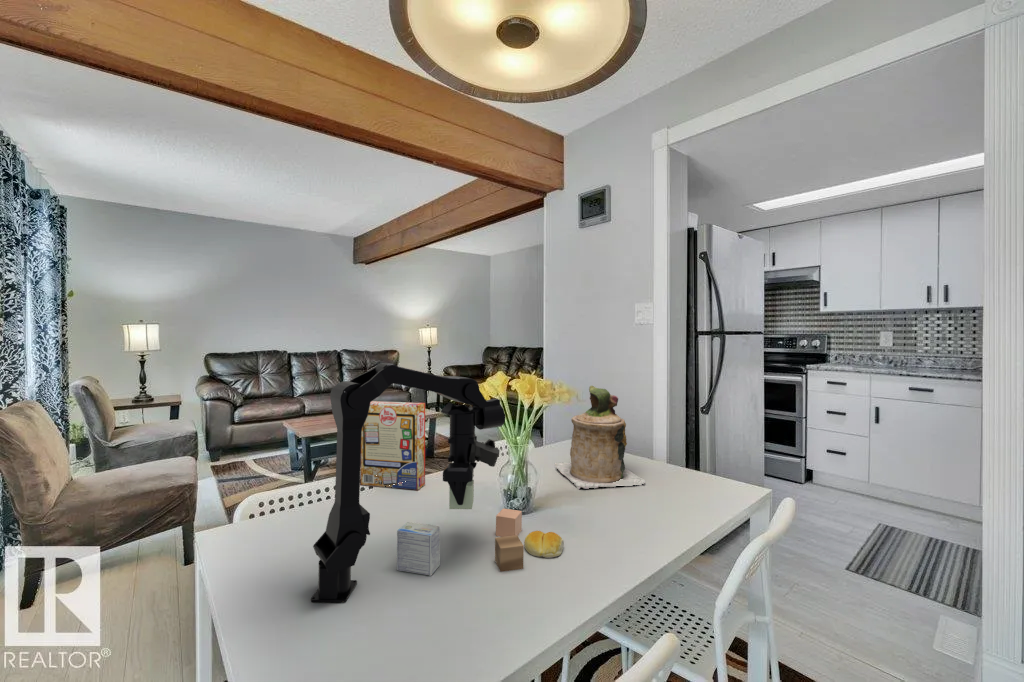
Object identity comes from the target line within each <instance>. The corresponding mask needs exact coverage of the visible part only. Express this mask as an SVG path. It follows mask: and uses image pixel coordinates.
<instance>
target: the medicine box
mask: <svg viewBox="0 0 1024 682" xmlns="http://www.w3.org/2000/svg"><path fill="white" fill-rule="evenodd" d="M440 531H441V530H440V526H439V525H433V524H426V523H418V522H410V521H407V522H406V523H404V524H403V525H402V526H401V527H400V528H399V529H397V531H396V570H397V571H401V572H406V573H407V572H408V573H413V574H417V575H425V576H426V575H427V576H430V577H431V576H432V575H433V574H434V572H435V571H436V570H438V568H439V567H440V564H441V563H440V562H441V560H440V555H441V549H440V548H441V547H440V543H441V542H440V541H441V539H440V535H441V534H440V533H441V532H440Z"/></svg>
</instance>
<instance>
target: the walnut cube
mask: <svg viewBox="0 0 1024 682" xmlns="http://www.w3.org/2000/svg"><path fill="white" fill-rule="evenodd" d="M524 549H525V546H524V543H523V542H522V540H521V539H520V538H519V535H518V536H517V535H515V536H506V537H500V536H496V537H494V562H495V563H496V566H497V568H498V570H499V572H500V573H502V572H509V571H519V570H524V551H525V550H524Z"/></svg>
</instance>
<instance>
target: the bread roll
mask: <svg viewBox="0 0 1024 682" xmlns="http://www.w3.org/2000/svg"><path fill="white" fill-rule="evenodd" d="M564 543H565V541H564V539H562V537H561V536H560V535H559V534H557V533H555V532H554V531H548V532H543V531H541V530H534V531H531V532H529V533H528V535H526V536H525V539H524V543H523V545H524V549H525V551H526V552H527V553H529V555H532V556H533V557H539V558H541V557H543V558H545V559H551V558H556V557H559V556H560V555H562V554H563V550H564V547H565V546H564V545H565V544H564Z"/></svg>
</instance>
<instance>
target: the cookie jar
mask: <svg viewBox="0 0 1024 682" xmlns="http://www.w3.org/2000/svg"><path fill="white" fill-rule="evenodd" d="M588 390H589V400H590V405H591V406H590V408H589V409H587V410H586V411H585V412H583V413H581V414H577V415H574V416H572V417H571V419H570V420H571V423H572V425H573V429H572V435H571V442H570V444H571V446H570V449H569V455H570V462H555V463H554V466H555V467H556V469H558V472H560V473H561V474H562V475H563V476H565V478H567V479H568V480H569V481H570V482H571V483H572V484H573V483H574V484H573V485H574V486H575V487H576V488H577V489H578V488H579V489H578V490H580V489H581V488H582V489H586V490H590V489H589V488H594V489H598V488H599V487H614V488H616V487H615V486H625V485H619V484H616V483H613V482H616V481H619V480H620V479H623V480H627V481H629V482H632V483H634V484H644V483H645V484H646V480H645V479H644V478H642V477H641V476H639V475H637V474H635V473H634V472H632V471H631V470H629V469H626V464H625V461H624V457H625V452H626V446H627V445H628V442H627V434H626V427H627V423H626V422H625V419H624V418H621V417H620V415H618V414H617V413H616V411H615V409H614V408H615V407H617V406H618V402H619V397H618V396H617V395H613V394H610V393H611V392H610V391H609V390H607V389H606V388H599V387H598V388H597V387H596V386H593V385H590V386H589V388H588ZM645 484H644V485H645Z"/></svg>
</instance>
